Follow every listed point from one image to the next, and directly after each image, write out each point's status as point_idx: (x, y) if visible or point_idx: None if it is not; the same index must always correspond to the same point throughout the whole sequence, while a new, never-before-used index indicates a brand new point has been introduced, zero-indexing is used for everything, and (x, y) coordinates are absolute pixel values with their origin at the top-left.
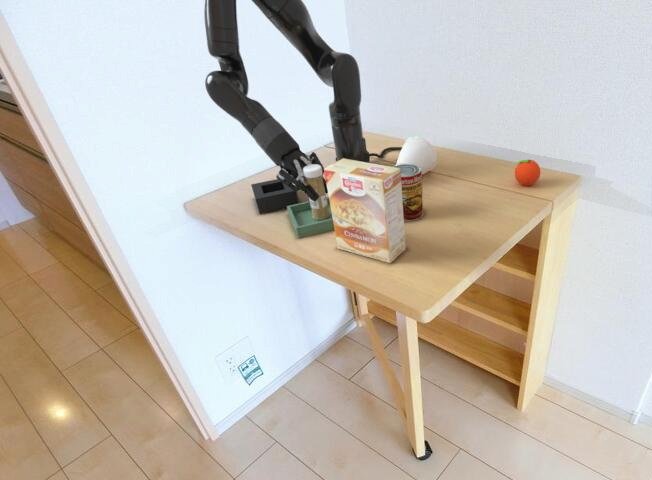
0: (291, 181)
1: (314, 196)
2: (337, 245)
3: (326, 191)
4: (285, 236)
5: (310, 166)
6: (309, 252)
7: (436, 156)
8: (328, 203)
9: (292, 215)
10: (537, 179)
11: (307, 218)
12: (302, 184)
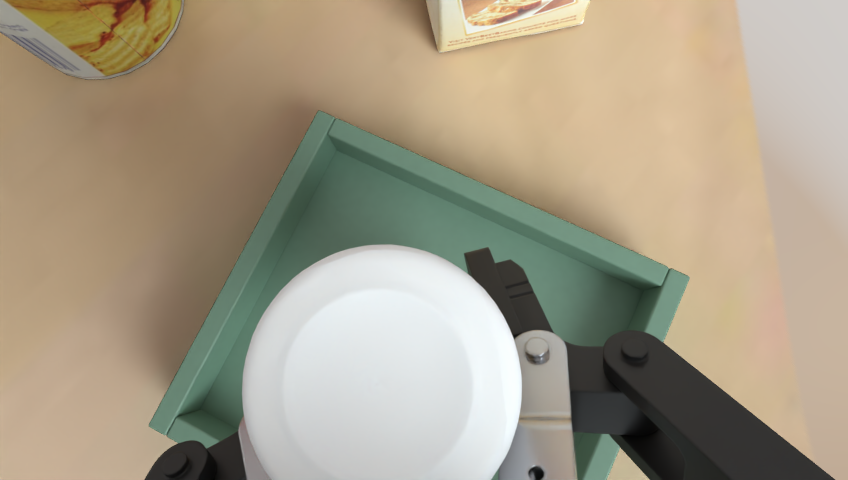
0: (737, 408)
1: (509, 263)
2: (585, 12)
3: None
4: (703, 369)
5: (370, 434)
6: (704, 111)
7: None
8: None
9: (601, 458)
10: None
11: None
12: (573, 370)
